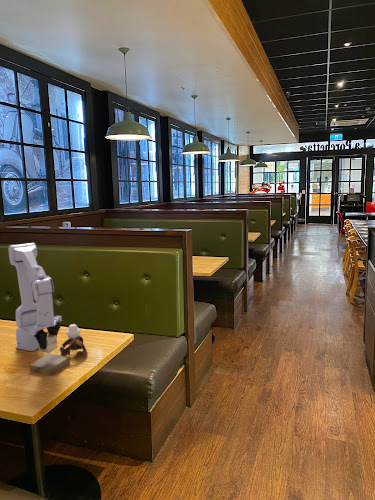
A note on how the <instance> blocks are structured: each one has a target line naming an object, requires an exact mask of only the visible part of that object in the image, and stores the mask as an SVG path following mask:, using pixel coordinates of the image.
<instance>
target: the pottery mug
mask: <svg viewBox="0 0 375 500" xmlns="http://www.w3.org/2000/svg"><path fill="white" fill-rule="evenodd" d="M68 345H69V346H68ZM78 350H82V352H81V353H82V355H83V357H84V358H86V357H87V356H88V350H87V349H86V346H85V344H84V338H83V337H82V336H81V335H79V336H77V337H76V338H74V337H73V338H70V339H69V338H68V339H67V340H65V341H64V342H63V343H62V344H61V346H60V347H59V351H60V355H61V356H71V351H78Z"/></svg>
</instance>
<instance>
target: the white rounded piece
mask: <svg viewBox="0 0 375 500" xmlns="http://www.w3.org/2000/svg"><path fill="white" fill-rule="evenodd" d="M65 334H66V336H67V338H68V339H70V338H73V337H74V338H76V337H77V336H81V328H79V327H78V325H77V324H75V323H73V324H70V325H69V326H68V329H67V330H66V331H65Z"/></svg>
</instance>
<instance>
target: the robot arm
mask: <svg viewBox="0 0 375 500" xmlns="http://www.w3.org/2000/svg"><path fill="white" fill-rule="evenodd" d="M37 256H38V248H37V245H36V243H35V242H31V243H30V242H29V243H21V244H10V245H9V246H8V257H9V263H10V265H12V266H14V267H15V269H16V273H17V274H16V275H17V280H18V281H17V282H18V288H19V296H20V302H21V304H20V305H19V306H18V307H17V308H16V309H15V322H16V326H17V328H16V330H15V339H16V346H15V349H18V350H19V349H20V350H25V351H31V352H34V351H36V350H39V346H40V348H41V349H44V350H45V349H46V346H47V345H46V339H47V334H51V335H56V337H57V338H58V334H59V331H60V328H61V324H60V323H59V322H62V321H63V320H62V319H63V318H62V315H55V313H54V312H55V311H54V303H53V293H54V292H55V285H54V281H53V279H52V278H51V277H50V276H49V275H47V274H46V272H45V270H44V268H43V266H41V265H38V262H37V259H36V258H37ZM34 301H35V302H34ZM45 329H46V330H47V331H45Z"/></svg>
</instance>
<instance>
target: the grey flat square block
mask: <svg viewBox="0 0 375 500" xmlns="http://www.w3.org/2000/svg"><path fill="white" fill-rule="evenodd" d="M70 364H71V361H70V356H67V355H65V356H62V355H61V354H56V353H55V354H54V353H51V352H50V353H46V354H45V355H43V356H42V357H40V358H38V359H36V360H35V361H33V362H32V363H29V372H32V373H37V374H42V375H45V376H46V375H47V376H51V377H52V376H54V375H55V374H57V373H58V372H60V370H62V369H64V368H65V367H67V366H68V365H70ZM56 372H57V373H56Z"/></svg>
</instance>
